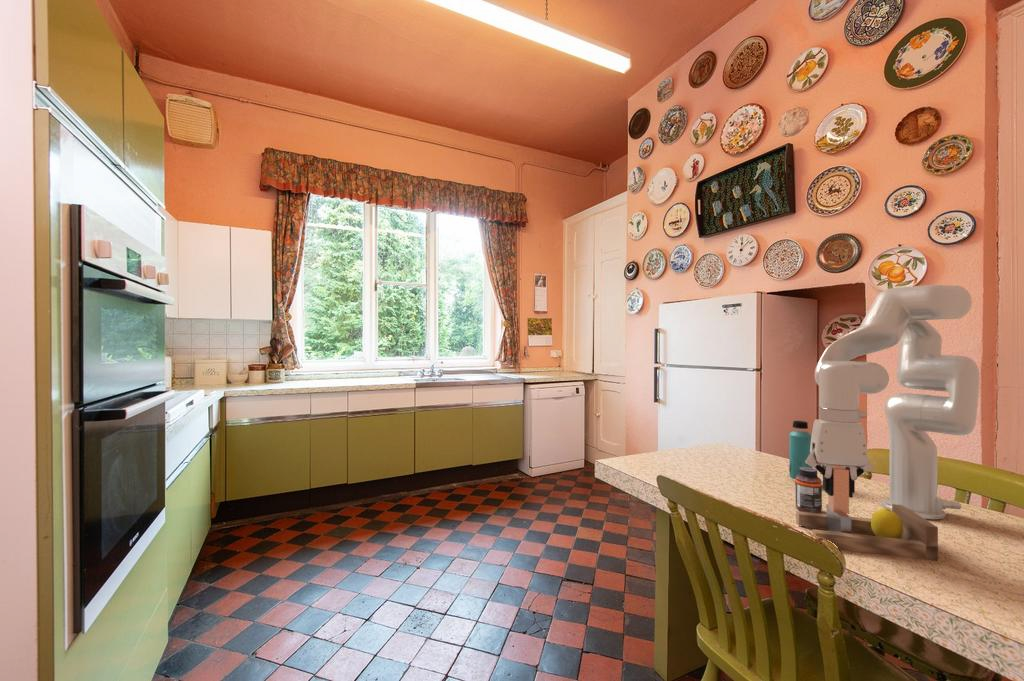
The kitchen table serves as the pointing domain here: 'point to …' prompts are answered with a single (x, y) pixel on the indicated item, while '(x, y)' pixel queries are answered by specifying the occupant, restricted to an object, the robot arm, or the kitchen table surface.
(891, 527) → the lemon
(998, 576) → the kitchen table surface
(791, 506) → the kitchen table surface
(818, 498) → the supplement bottle
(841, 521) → the sliding jaw
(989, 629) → the kitchen table surface
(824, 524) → the frame
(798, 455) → the beverage bottle
